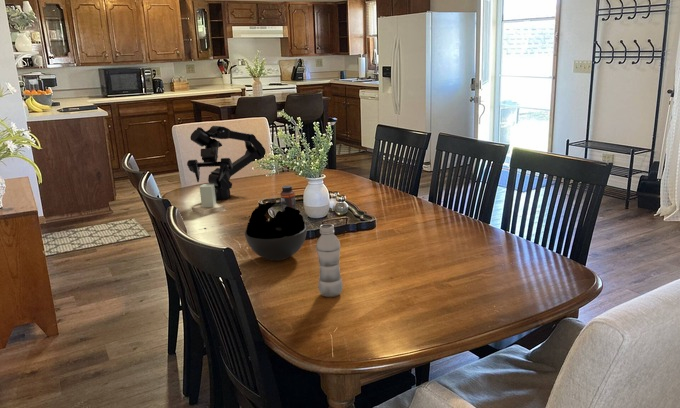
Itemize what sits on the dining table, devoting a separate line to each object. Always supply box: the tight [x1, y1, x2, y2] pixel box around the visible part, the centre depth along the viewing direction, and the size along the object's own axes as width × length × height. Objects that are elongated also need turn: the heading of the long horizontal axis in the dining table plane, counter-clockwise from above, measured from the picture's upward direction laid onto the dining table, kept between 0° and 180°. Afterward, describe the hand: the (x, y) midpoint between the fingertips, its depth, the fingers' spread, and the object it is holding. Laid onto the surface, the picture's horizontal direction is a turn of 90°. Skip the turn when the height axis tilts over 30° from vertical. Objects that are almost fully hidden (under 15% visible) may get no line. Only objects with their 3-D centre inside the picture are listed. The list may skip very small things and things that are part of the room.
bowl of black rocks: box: [244, 201, 308, 261], centre depth 185 cm, size 20×20×19 cm
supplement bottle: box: [280, 184, 297, 212], centre depth 237 cm, size 6×6×11 cm
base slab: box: [191, 209, 227, 217], centre depth 244 cm, size 11×11×2 cm
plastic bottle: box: [315, 223, 344, 298], centre depth 155 cm, size 6×7×20 cm
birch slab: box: [191, 202, 226, 217], centre depth 243 cm, size 10×10×2 cm
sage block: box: [199, 183, 217, 208], centre depth 242 cm, size 5×5×9 cm
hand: (208, 181), depth 245 cm, fingers open, 9 cm apart
